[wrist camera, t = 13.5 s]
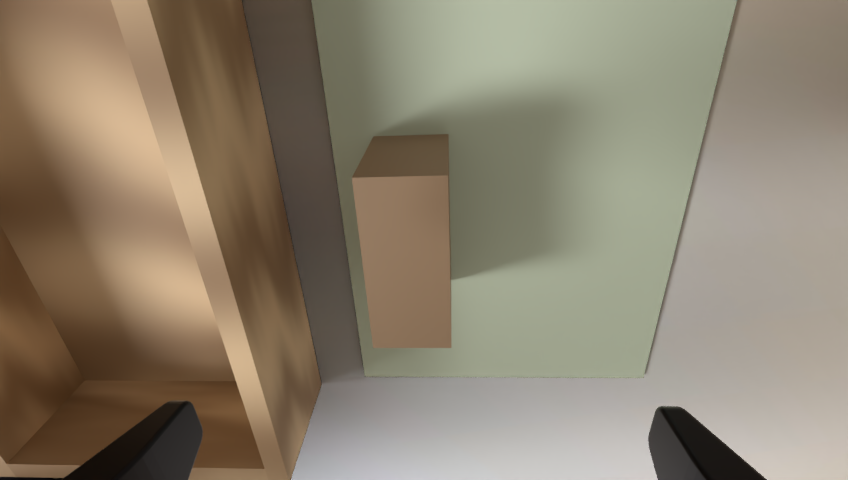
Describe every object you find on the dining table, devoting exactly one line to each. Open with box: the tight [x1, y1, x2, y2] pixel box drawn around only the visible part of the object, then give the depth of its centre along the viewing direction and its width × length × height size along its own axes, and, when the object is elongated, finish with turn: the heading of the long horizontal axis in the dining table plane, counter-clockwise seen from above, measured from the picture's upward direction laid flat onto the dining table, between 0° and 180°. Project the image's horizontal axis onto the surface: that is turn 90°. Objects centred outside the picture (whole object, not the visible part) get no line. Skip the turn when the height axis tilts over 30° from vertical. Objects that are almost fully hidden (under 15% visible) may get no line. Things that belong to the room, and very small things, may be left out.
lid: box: [311, 0, 737, 378], centre depth 15 cm, size 19×13×5 cm
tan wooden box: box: [0, 0, 322, 480], centre depth 13 cm, size 23×12×9 cm, turn 3°
